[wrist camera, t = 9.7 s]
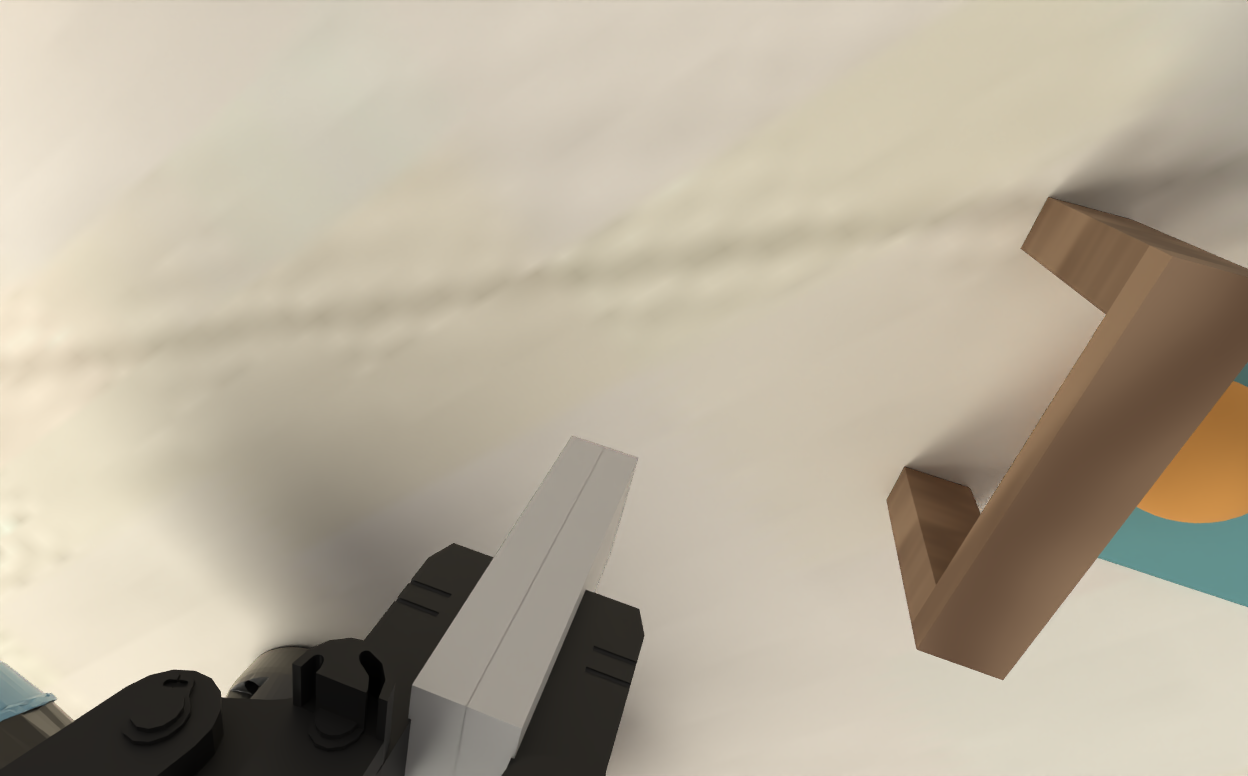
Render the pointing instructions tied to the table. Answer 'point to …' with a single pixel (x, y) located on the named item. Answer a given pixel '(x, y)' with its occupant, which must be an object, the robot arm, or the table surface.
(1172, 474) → the ball
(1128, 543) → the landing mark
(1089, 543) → the bridge
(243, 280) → the table surface
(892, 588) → the table surface
